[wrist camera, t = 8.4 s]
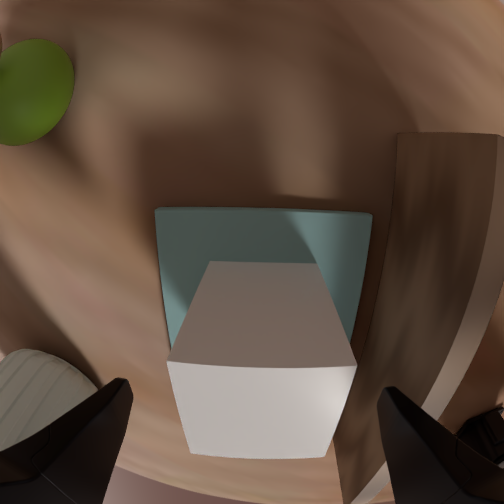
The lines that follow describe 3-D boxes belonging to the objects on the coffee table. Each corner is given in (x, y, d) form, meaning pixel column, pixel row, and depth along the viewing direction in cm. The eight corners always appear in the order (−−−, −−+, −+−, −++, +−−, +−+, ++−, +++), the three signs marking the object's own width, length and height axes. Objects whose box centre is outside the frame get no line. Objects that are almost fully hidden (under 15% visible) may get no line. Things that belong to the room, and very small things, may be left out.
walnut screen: (350, 436, 19) (364, 506, 13) (332, 437, 19) (344, 510, 13) (423, 138, 12) (525, 146, 5) (397, 133, 12) (497, 134, 5)
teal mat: (338, 372, 17) (340, 378, 16) (178, 367, 17) (176, 373, 16) (368, 212, 13) (372, 215, 13) (158, 207, 13) (154, 209, 13)
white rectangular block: (306, 347, 15) (324, 456, 9) (214, 345, 15) (190, 453, 9) (317, 263, 13) (357, 365, 7) (209, 260, 14) (165, 360, 7)
